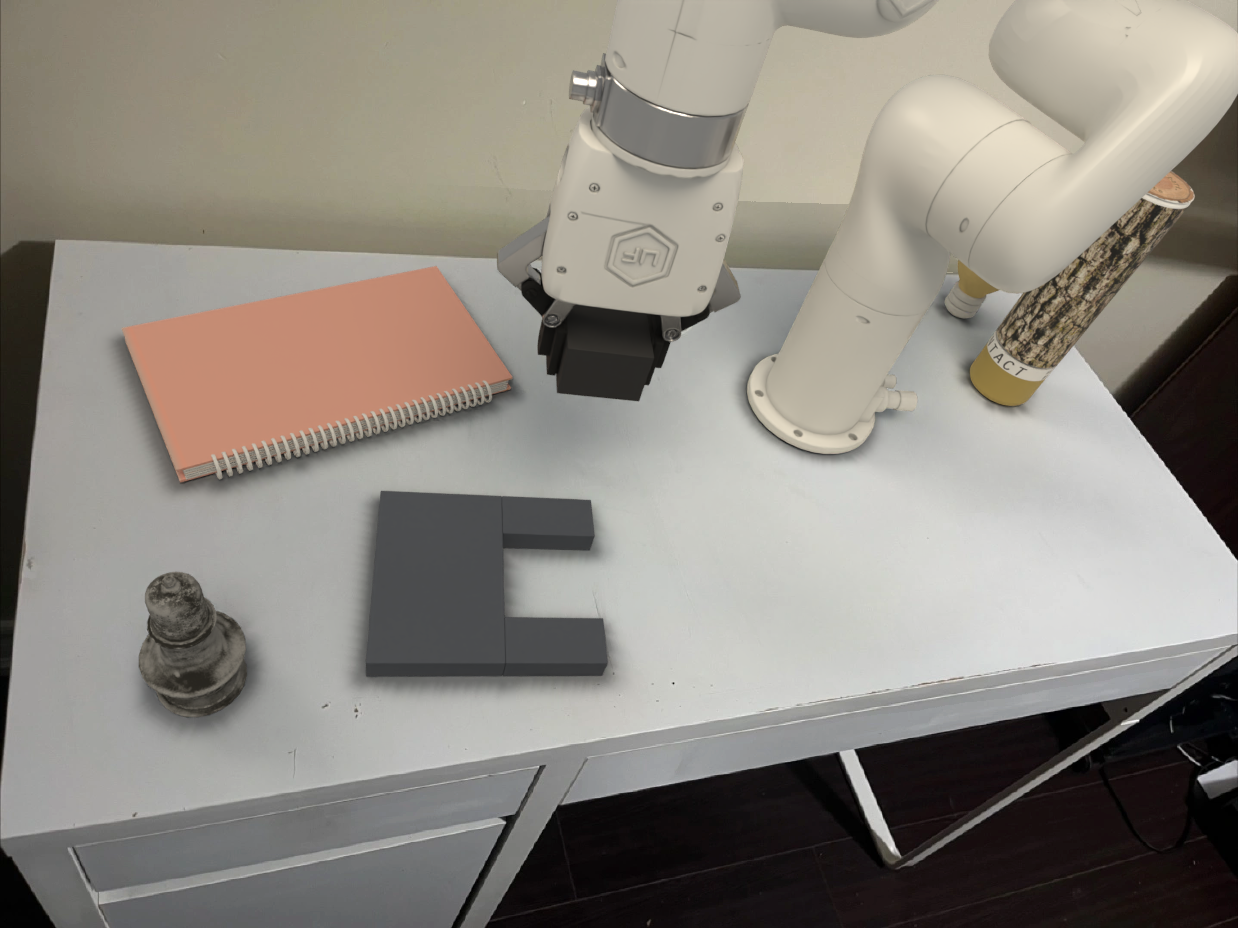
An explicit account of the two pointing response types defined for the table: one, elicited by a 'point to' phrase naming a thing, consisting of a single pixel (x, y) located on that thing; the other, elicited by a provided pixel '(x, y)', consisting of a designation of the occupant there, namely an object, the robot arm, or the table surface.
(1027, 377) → the paper tube
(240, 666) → the chess piece
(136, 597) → the table surface
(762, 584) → the table surface
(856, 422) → the robot arm
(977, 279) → the light bulb
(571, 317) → the pad piece
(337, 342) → the notebook
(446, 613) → the gray notched slab
